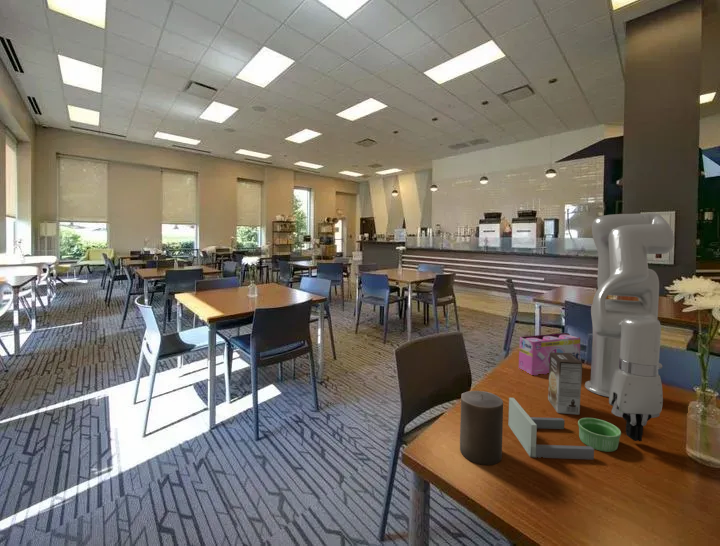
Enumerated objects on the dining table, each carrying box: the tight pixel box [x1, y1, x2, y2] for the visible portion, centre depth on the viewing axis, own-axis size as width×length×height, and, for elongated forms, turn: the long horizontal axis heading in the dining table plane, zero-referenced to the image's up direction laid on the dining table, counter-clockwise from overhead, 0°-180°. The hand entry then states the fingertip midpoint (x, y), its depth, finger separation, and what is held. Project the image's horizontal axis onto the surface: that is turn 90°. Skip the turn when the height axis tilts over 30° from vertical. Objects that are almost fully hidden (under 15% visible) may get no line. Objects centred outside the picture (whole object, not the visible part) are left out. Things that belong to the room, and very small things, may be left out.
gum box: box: [518, 332, 581, 376], centre depth 136 cm, size 24×8×14 cm, turn 103°
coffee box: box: [547, 352, 583, 416], centre depth 104 cm, size 9×6×16 cm
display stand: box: [508, 397, 595, 460], centre depth 87 cm, size 14×14×8 cm
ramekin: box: [577, 417, 622, 453], centre depth 86 cm, size 9×9×4 cm
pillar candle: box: [459, 390, 504, 466], centre depth 82 cm, size 10×10×15 cm
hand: (633, 438), depth 86 cm, fingers closed
